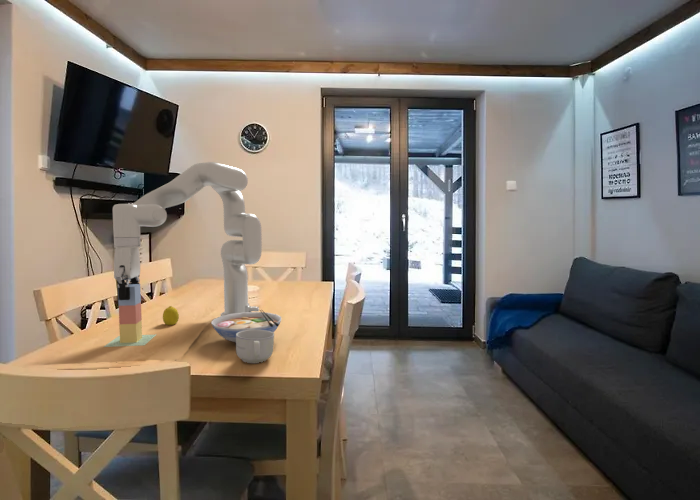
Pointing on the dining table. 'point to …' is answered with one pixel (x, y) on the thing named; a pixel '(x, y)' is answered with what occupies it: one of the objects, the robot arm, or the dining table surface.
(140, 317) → the block brick
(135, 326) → the block ochre
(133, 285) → the block slate
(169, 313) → the lemon
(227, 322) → the ramen bowl
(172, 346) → the dining table surface
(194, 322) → the dining table surface
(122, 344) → the baseplate
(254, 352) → the teacup
